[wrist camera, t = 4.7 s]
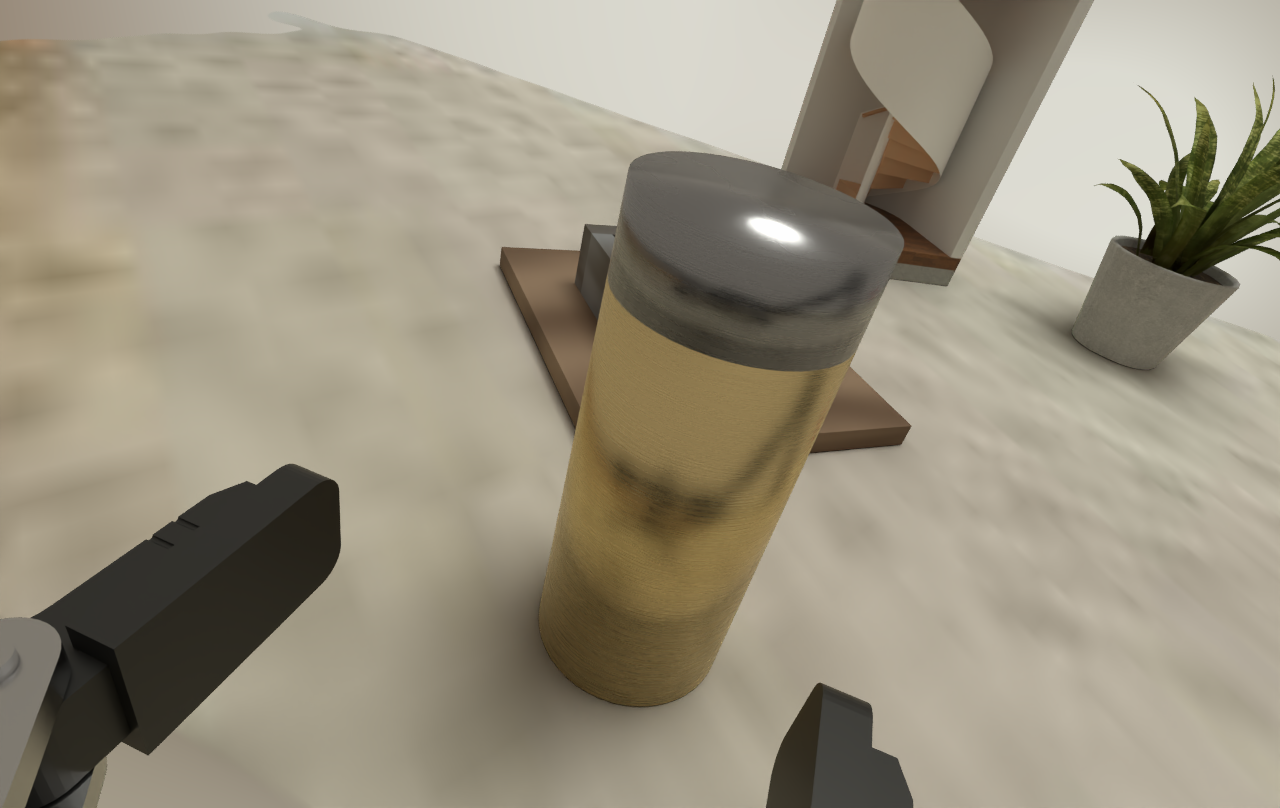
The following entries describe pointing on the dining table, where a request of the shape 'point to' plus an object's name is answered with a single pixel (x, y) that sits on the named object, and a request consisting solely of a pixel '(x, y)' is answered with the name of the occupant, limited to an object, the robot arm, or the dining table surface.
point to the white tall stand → (928, 111)
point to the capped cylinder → (700, 409)
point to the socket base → (567, 319)
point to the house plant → (1180, 248)
